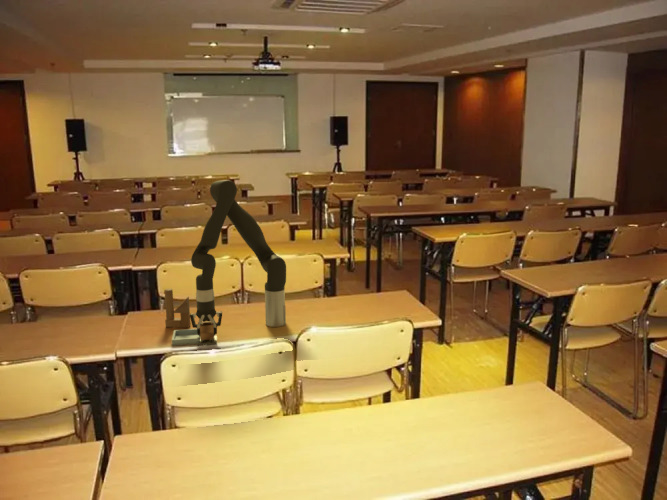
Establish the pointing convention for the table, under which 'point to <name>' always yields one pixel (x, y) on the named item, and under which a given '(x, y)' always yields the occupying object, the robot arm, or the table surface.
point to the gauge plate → (208, 341)
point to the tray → (185, 337)
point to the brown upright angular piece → (176, 311)
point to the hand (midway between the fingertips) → (207, 335)
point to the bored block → (206, 330)
